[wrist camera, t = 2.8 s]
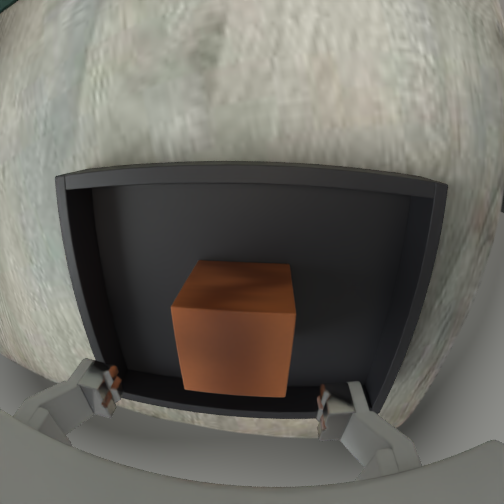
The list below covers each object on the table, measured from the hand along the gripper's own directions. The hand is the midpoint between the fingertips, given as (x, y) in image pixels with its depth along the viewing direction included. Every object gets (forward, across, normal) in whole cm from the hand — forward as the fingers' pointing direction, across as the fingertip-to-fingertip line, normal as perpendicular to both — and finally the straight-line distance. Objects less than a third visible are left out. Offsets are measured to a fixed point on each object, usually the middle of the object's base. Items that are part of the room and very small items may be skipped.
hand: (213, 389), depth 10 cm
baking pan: (+7, -1, 0) cm, 7 cm away
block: (+7, -1, 0) cm, 7 cm away
